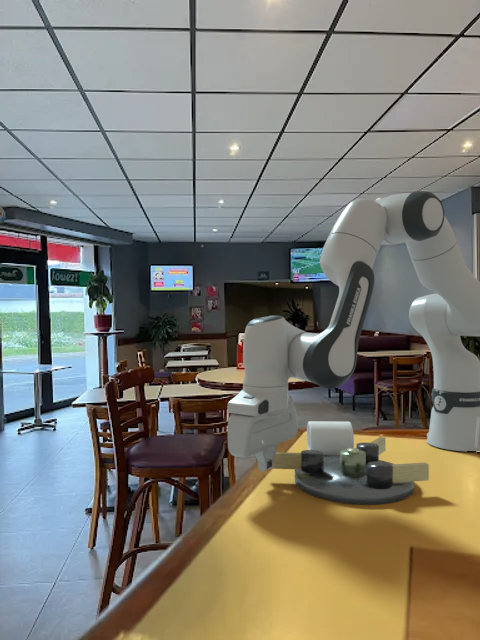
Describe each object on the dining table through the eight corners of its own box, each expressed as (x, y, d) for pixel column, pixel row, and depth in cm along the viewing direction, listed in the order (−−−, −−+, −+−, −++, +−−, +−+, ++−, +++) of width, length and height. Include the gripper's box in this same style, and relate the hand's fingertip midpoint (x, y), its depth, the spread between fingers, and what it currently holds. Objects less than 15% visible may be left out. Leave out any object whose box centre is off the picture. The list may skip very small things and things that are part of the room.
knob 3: (373, 488, 89) (373, 469, 89) (362, 480, 93) (362, 462, 93) (433, 484, 91) (433, 466, 91) (420, 476, 96) (420, 458, 96)
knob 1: (323, 466, 102) (323, 450, 102) (324, 473, 97) (324, 456, 97) (265, 465, 103) (265, 448, 103) (264, 472, 98) (264, 455, 98)
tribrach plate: (362, 459, 114) (362, 431, 114) (440, 492, 93) (440, 457, 93) (274, 473, 104) (274, 442, 104) (339, 513, 84) (339, 474, 84)
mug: (354, 460, 114) (354, 425, 114) (310, 460, 114) (310, 425, 114) (344, 446, 126) (344, 415, 126) (304, 446, 126) (305, 414, 126)
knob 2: (374, 465, 102) (374, 449, 102) (353, 462, 105) (353, 446, 105) (392, 452, 112) (392, 437, 112) (373, 449, 114) (373, 434, 114)
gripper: (278, 390, 107) (279, 454, 108) (221, 404, 91) (221, 480, 91) (304, 393, 104) (304, 458, 104) (250, 408, 87) (250, 487, 87)
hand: (265, 469), depth 97 cm, fingers closed
